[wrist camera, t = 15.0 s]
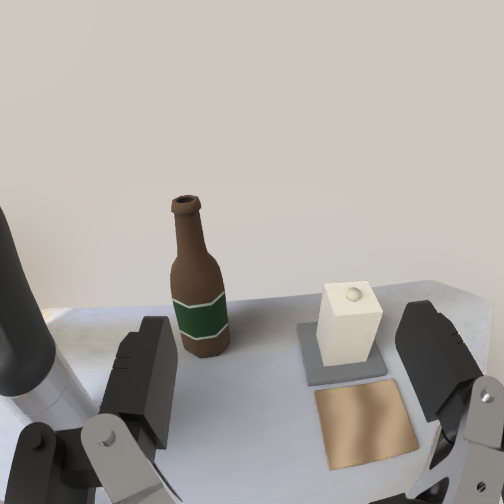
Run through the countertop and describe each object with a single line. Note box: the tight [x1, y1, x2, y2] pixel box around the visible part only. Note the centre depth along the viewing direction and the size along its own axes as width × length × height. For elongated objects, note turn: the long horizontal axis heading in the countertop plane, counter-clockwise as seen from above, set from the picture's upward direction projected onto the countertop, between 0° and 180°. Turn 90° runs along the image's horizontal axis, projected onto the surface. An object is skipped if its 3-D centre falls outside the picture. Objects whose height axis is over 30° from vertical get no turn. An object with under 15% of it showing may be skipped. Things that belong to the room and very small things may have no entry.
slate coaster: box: [297, 322, 387, 386], centre depth 46 cm, size 12×12×1 cm
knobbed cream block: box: [316, 281, 383, 366], centre depth 42 cm, size 7×7×11 cm
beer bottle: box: [170, 195, 230, 358], centre depth 42 cm, size 8×8×24 cm
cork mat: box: [315, 379, 419, 470], centre depth 34 cm, size 12×12×1 cm
